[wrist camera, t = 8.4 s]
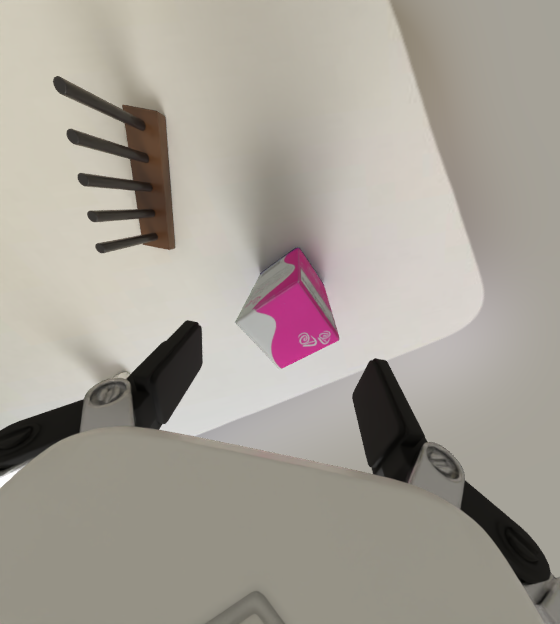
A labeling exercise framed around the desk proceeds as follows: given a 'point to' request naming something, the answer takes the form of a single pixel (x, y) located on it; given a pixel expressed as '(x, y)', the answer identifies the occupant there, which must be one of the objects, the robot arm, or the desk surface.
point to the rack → (145, 169)
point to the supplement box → (288, 311)
